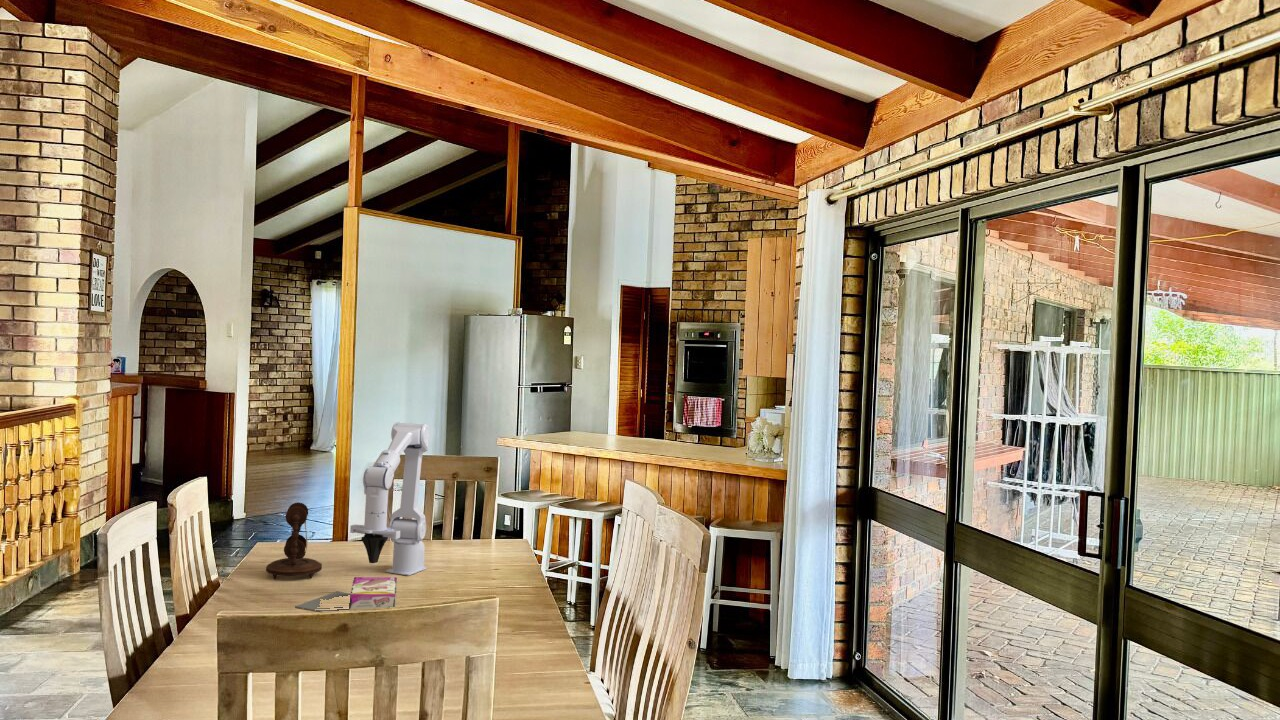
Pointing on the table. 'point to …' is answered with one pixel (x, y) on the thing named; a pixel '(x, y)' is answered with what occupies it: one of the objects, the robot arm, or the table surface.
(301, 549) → the wooden ornament
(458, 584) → the table surface
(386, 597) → the candy bar box
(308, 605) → the mat
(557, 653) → the table surface
